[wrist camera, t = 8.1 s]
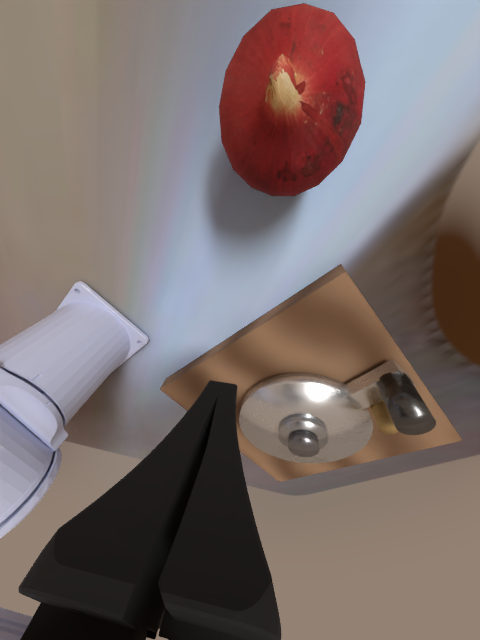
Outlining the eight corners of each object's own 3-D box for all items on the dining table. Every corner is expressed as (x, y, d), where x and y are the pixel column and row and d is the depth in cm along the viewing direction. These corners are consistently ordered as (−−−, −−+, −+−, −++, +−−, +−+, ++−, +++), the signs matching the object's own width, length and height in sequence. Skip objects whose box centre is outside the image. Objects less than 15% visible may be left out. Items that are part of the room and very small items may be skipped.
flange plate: (298, 463, 27) (301, 509, 23) (217, 411, 24) (205, 454, 20) (445, 406, 19) (485, 463, 15) (350, 318, 16) (370, 362, 12)
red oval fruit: (364, 83, 12) (477, -43, 5) (310, 205, 15) (333, 230, 8) (255, 39, 11) (215, -156, 5) (224, 172, 14) (173, 170, 8)
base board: (279, 469, 32) (278, 513, 28) (165, 378, 26) (143, 418, 22) (452, 425, 23) (490, 482, 19) (340, 264, 16) (360, 295, 12)
